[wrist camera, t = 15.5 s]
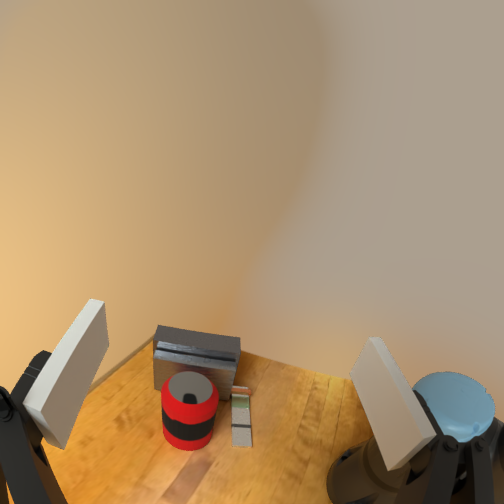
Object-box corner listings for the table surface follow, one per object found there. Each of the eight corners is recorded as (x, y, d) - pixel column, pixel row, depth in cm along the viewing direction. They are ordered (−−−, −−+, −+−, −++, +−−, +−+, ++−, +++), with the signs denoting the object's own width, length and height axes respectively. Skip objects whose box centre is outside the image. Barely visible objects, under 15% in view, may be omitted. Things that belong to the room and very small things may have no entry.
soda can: (161, 449, 33) (158, 407, 28) (164, 411, 40) (163, 363, 35) (212, 453, 34) (222, 412, 30) (210, 415, 41) (218, 368, 37)
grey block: (247, 374, 52) (255, 344, 49) (249, 402, 45) (258, 373, 42) (161, 362, 50) (161, 330, 47) (154, 389, 43) (153, 358, 40)
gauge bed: (246, 377, 51) (257, 339, 48) (251, 448, 37) (265, 415, 33) (158, 365, 49) (158, 324, 45) (141, 433, 34) (134, 397, 31)
